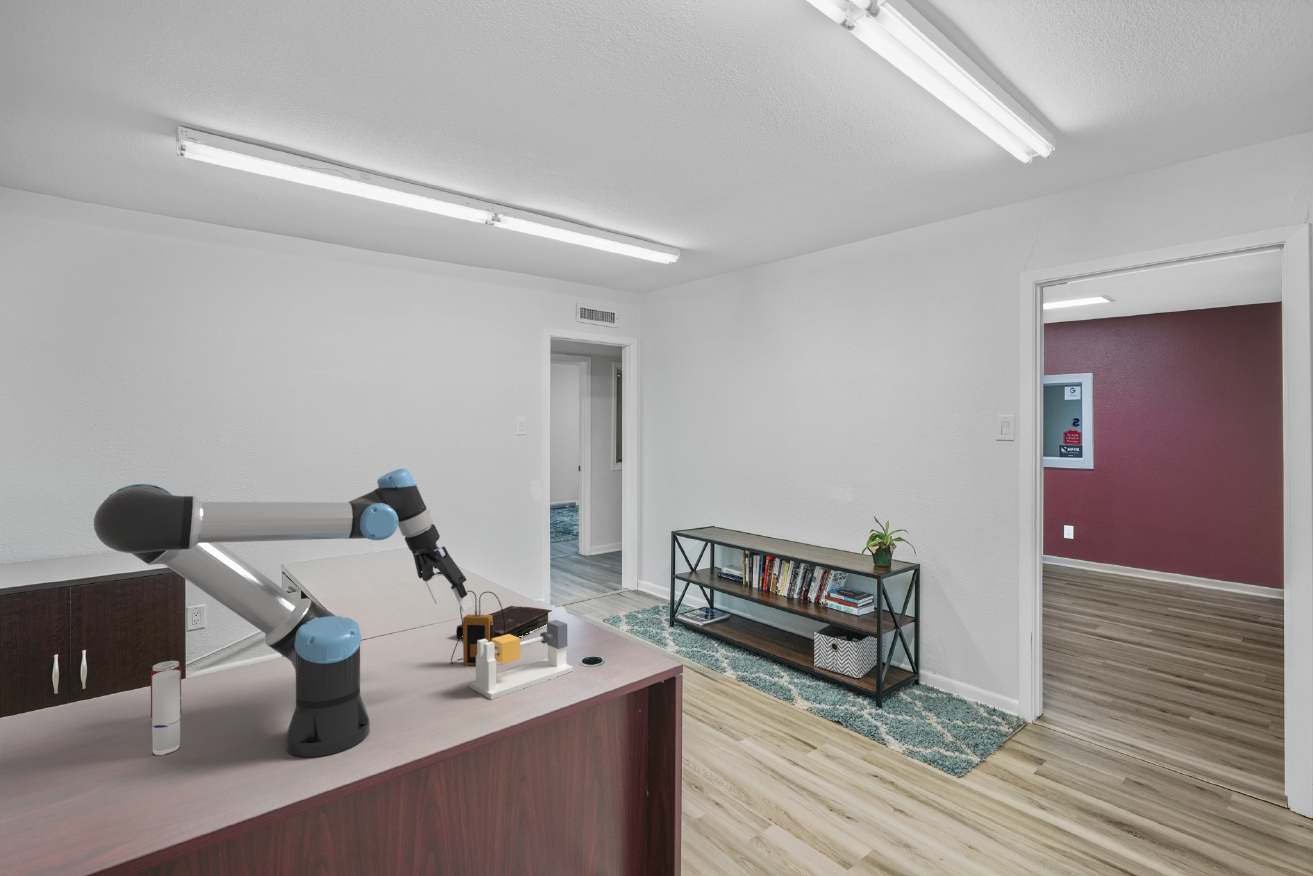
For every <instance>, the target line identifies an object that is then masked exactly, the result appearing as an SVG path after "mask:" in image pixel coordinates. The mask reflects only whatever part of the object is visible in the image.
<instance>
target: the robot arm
mask: <svg viewBox="0 0 1313 876" xmlns="http://www.w3.org/2000/svg"><path fill="white" fill-rule="evenodd" d="M415 481H416V480H414V478H413V476H412V474H411V472H410V471H409V470H408V469H407V468H398V469H395V470H393V471H390V472H389V471H388V473H386V474H384V475H382V476H380V477H379V478H378V479H377V481H376V483H377V488H375V489H374V490H372V491H370V492H368V493H365V494H363V495H361V496H358V497H357V498H355V499H354V498H353V499H352V500H350V501H348V502H304V501H303V502H297V501H296V502H294V501H293V502H292V501H291V502H290V501H289V502H287V501H286V502H283V501H282V502H280V501H278V502H277V501H276V502H275V501H274V502H273V501H271V502H269V501H268V502H267V501H265V502H264V501H257V502H256V501H254V502H253V501H201V500H200V499H199V498H198V497H196V496H195V495H192V496H191V495H184V496H183V495H173V493H172V492H170V491H169V490H167V489H165V488H163V487H161V486H158V485H154V484H149V483H136V484H135V483H134V484H130V485H126V486H123V487H121V488H118V489H117V490H116V491H114V492H112V493H111V494H110V495H108V497H107V498H106V499H105V500H103V502H102V503H101V504H100V505H99V507H98V508H97V510H96V512H95V514H94V518H93V529H94V532H95V534H96V536H97V538H98V540H100V542H101V543H102V544H103V545H104V546H106V547H108V548H110V549H112V550H114V551H116V552H121V553H127V554H131V555H133V556H135V557H136V558H137V559H139V560H140V561H142V562H144V563H145V564H146V565H148V566H153V565H164V566H166V567H168V568H169V569H170V570H172V571H173V572H175V573H176V574H177V575H180V576H181V577H182V578H184V579H185V580H186V581H188V582H189V583H191V584H192V585H194V586H195V587H197V588H198V589H199V590H201V591H202V592H204V593H205V594H207V595H209V596H210V597H212V598H213V599H214V600H216V601H217V602H219V603H220V604H222V605H223V606H224V607H225V608H228V609H229V610H230V611H232V612H233V613H235V614H236V615H237V616H239V617H241V618H242V619H243V620H245V621H247V622H248V623H250V625H252V626H254V627H256V628H257V629H258V630H260V631H261V632H263V633H264V634H265V635H264V636H265V644H266V645H267V646H268V647H269V648H271V649H272V650H274V651H275V652H277V653H279V654H280V655H282V656H283V657H284V658H286V659H287V660H288V661H290V662H291V665H292V666H293V667H294V668H293V669H294V670H295V673H294V674H295V707H294V711H293V714H292V717H291V720H290V723H289V726H288V728H287V732H286V735H285V750H286V752H288V753H289V754H291V755H292V756H295V757H303V758H312V757H313V758H315V757H323V756H328V755H333V754H337V753H340V752H343V751H346V750H349V749H350V748H352V747H354V746H356V745H358V744H360V743H361V742H363V741H364V740H366V738H367V737H368V735H369V734H370V730H371V729H370V717H369V715H368V712H367V709H366V707H365V703H364V702H363V699H362V696H361V643H362V635H361V633H360V632H361V631H360V626H359V624H358V623H357V621H355V620H354V619H352V618H350V617H343V616H339V615H336V614H334V613H333V612H332V611H329V610H327V609H324V608H323V607H322V606H320V605H319V604H317V603H316V602H315V601H314V600H312V599H310V598H308V597H306V598H300V599H297V598H296V597H294V595H292V594H290V593H288V591H286V590H285V589H284V588H282V587H281V586H279V585H278V584H277V583H276V582H275V581H272V580H271V579H270V578H269V577H267V576H266V575H265V574H264V573H262V572H260V571H259V570H258V569H256V568H255V567H253V566H252V565H251V564H249V563H248V562H246V561H245V560H244V559H243V558H241V557H240V556H238V555H237V554H235V552H233V551H232V550H231V549H229V548H228V547H226V546H225V545H223V543H245V542H247V543H251V542H274V541H275V542H276V541H277V542H279V541H304V540H305V541H307V540H309V541H310V540H313V541H314V540H337V539H338V540H339V539H341V540H342V539H343V540H349V539H351V540H352V539H367V540H371V541H383V540H386V539H389V538H391V537H392V536H393V535H394V534H395V532H397V529H399V531H400V533H401V535H402V536H404V541H405V543H406V545H407V547H408V549H409V550H410V552H411V553H412V556H413V561H414V565H415V567H416V573H417V576H418V579H422V581H423V582H425V584H426V587H427V589H428V591H429V592H430V594H431V598H432V599H433V601H434V603H435V604H436V605H438V604H439V603H441V602H442V601H443V600H445V599H446V598H447V597H446V595H445V593H444V590H443V589H442V586H441V584H440V583H439V581H438V579H437V577H436V575H437V574H436V573H435V572H434V569H436V570H438V572H440V573H441V574H442V575H443V577H445V579H446V580H447V581H448V582H449V584H451V587H450V590H452V593H454V595H455V598H456V600H457V602H458V604H459V608H460V607H461V612H462V611H463V612H465V611H466V610H468V608H470V607H472V606H474V603H473V602H472V599H471V597H470V595H469V592H467V591H468V590H467V589H466V586H465V584H464V582H466V581H467V578H466V576H465V575H464V573H463V572H462V570H461V569H460V568H459V566H458V565H457V564H456V562H455V561H454V559H453V558H452V556H450V554H449V552H448V550H447V548H446V547H445V546H442V547H439V546H438V544H437V542H438V541H439V539H440V537H441V535H440V533H439V531H438V529H437V527H436V525H435V524H433V519H432V517H431V515H430V513H431V511H430V509H428V508H427V506H426V504H425V501H424V498H422V495H421V493H420V491H419V490H420V489H419V488H418V486H417V483H416V482H415Z"/></svg>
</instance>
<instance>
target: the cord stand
mask: <svg viewBox="0 0 1313 876" xmlns="http://www.w3.org/2000/svg"><path fill="white" fill-rule="evenodd" d="M540 642H541V643H542V644H546V645H547V658H545V659H541V660H538V661H535V662H531V663H529V664H525V665H521V666H519V667H515V668H513V669H509V670H506V671H503V672H499V673H497V661H496V659H495V654H498V653H499V648H497V649H495V643H493V642H488V640H487V639H482V640H478V641H477V655H476V665H475V680H473V681H471V682H469V688H471V689H472V690H474V691H475V692H477V693H479V694H481V695H483V696H484V697H486V698H487V699H489V700H494V699H497V698H499V697H503V696H506V695H509V694H511V693H514V692H518V691H520V690H523V688H524V689H527V688H529V686H530V687H532V686H535V685H539V684H541V683H544V682H546V681H550V680H552V679H556V678H558V677H557V676H559V677H561V675H562V676H564V675H563V674H565V675H567V674H566V673H568V672H571V671H573V672H574V666H572V665H570V664H568V663H567V647H568V623H566V622H564V621H561V620H558V619H553V620H548V622H547V626H546V631H543V632H541V633H540V635H539V636H538V637H533V638H530V639H526V640H523V641H520V648H522V647H525V646H530V645H532V644H536V643H540ZM571 673H572V672H571ZM568 674H569V673H568ZM549 679H550V680H549ZM526 687H527V688H526ZM517 690H518V691H517Z"/></svg>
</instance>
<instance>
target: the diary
mask: <svg viewBox="0 0 1313 876" xmlns="http://www.w3.org/2000/svg"><path fill="white" fill-rule="evenodd" d="M502 610H503V614H504V620H505V635H507V634H510V635H513V636H515V637H519V636H522V635H523V636H525V635H526V636H529V635H531V634H530V633H529V632H530V631H533V630H535V629H537V628H540V627H542V626H544V625H546V624H547V622H549V613H552V612H553V610H552V609H546V608H539V607H532V606H516V605H510V606H507V607H505V608H504V607H503V608H502ZM502 610H501V609H500V610H497V611H494V612H492V613H488V614H487V615H492V616H493V630H494V638H496V637H500V636H503V635H504V620H503V614H502ZM461 631H462V623H461V624H458V625H457V626H456V639H457V638H459V636H460V634H461V636H460V637H462V636H463V631H462V633H461ZM526 633H528V634H529V635H528V634H526ZM526 636H525V637H526ZM462 638H463V637H462ZM519 638H520V639H522V638H521V637H519Z"/></svg>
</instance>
